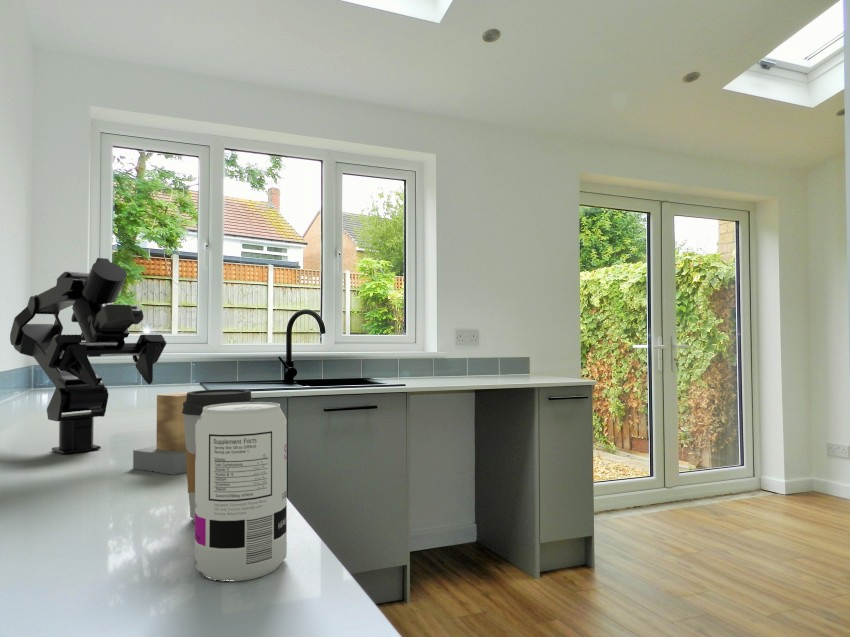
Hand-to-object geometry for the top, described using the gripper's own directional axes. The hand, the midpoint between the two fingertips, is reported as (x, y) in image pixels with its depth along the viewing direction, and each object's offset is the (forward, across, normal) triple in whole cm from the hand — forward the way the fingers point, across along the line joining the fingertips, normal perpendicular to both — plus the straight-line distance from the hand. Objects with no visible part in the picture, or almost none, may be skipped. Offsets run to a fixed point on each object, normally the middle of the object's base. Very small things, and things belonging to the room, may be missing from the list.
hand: (124, 384), depth 100 cm
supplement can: (+49, -15, -29) cm, 59 cm away
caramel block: (+14, +5, +1) cm, 15 cm away
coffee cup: (+38, -8, -19) cm, 43 cm away
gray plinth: (+16, +5, +3) cm, 17 cm away
